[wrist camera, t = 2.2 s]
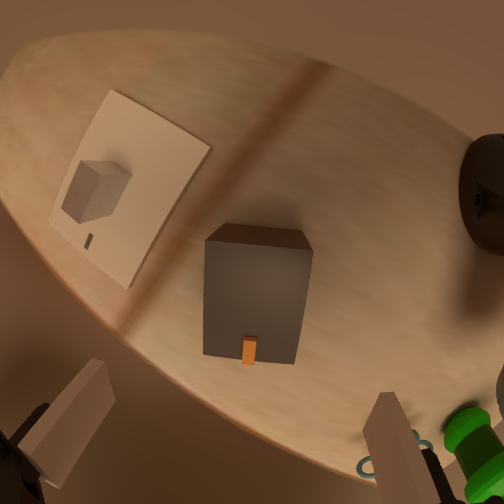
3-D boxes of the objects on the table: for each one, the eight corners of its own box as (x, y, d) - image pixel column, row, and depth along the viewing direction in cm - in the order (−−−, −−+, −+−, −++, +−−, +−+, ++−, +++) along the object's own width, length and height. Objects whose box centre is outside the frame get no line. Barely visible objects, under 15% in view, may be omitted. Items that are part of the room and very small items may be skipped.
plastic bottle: (426, 439, 35) (466, 539, 11) (457, 398, 32) (518, 502, 8) (460, 433, 35) (502, 518, 11) (489, 395, 32) (546, 480, 8)
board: (116, 91, 25) (79, 75, 18) (213, 148, 26) (193, 138, 19) (53, 221, 30) (15, 232, 23) (131, 286, 31) (100, 312, 24)
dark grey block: (224, 223, 28) (203, 242, 20) (302, 230, 28) (314, 252, 20) (219, 313, 31) (201, 358, 22) (290, 321, 30) (294, 368, 22)
